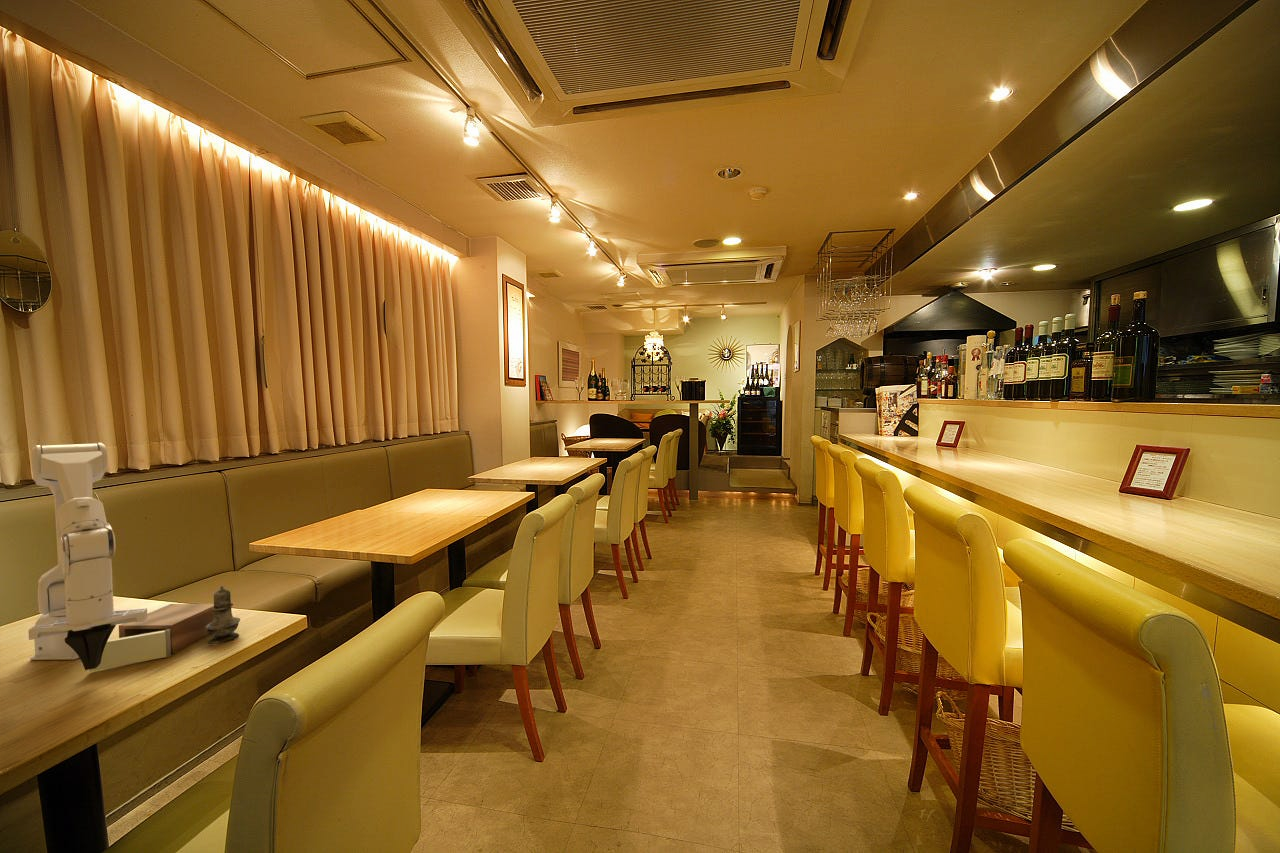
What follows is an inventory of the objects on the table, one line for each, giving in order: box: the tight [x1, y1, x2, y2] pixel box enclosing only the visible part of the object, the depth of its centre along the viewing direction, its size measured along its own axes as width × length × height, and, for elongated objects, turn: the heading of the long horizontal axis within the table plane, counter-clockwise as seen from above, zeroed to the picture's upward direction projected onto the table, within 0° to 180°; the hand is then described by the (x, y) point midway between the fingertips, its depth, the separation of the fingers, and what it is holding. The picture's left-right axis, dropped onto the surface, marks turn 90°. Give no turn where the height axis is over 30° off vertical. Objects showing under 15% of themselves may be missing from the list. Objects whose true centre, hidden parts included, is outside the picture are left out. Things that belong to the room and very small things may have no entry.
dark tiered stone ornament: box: [205, 585, 241, 646], centre depth 105 cm, size 6×6×12 cm
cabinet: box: [118, 603, 214, 656], centre depth 104 cm, size 11×11×6 cm
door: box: [89, 629, 172, 672], centre depth 95 cm, size 11×2×6 cm, turn 120°
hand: (92, 666), depth 88 cm, fingers closed
